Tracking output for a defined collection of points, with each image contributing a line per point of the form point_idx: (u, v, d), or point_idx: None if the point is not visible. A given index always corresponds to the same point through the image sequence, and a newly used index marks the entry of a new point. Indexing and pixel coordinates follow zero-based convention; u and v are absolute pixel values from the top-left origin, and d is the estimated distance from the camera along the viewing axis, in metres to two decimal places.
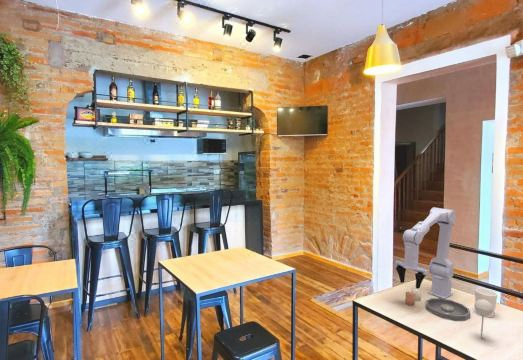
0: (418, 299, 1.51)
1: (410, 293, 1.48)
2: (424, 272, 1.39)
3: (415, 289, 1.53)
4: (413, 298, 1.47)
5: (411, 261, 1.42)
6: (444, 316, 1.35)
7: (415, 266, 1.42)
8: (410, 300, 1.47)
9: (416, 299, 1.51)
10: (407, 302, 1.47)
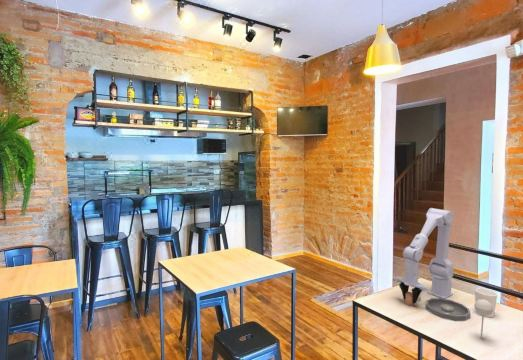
0: (418, 299, 1.51)
1: (410, 293, 1.48)
2: (424, 289, 1.42)
3: None
4: None
5: (411, 278, 1.45)
6: (444, 316, 1.35)
7: (415, 283, 1.45)
8: (410, 300, 1.47)
9: None
10: (407, 302, 1.47)
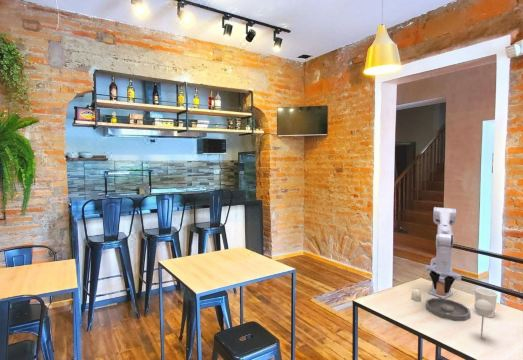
0: (418, 299, 1.51)
1: (441, 282, 1.39)
2: (458, 277, 1.32)
3: (415, 289, 1.53)
4: None
5: (444, 266, 1.35)
6: (444, 316, 1.35)
7: (448, 271, 1.35)
8: (442, 290, 1.37)
9: (416, 299, 1.51)
10: (438, 292, 1.38)
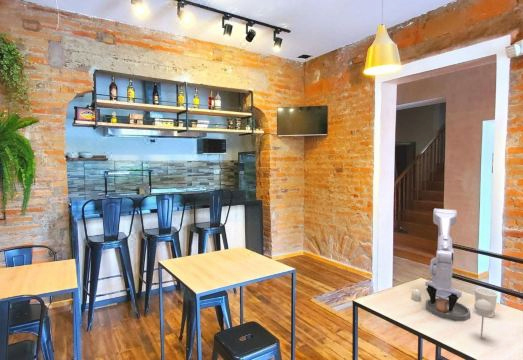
0: (418, 299, 1.51)
1: (442, 301, 1.39)
2: (458, 294, 1.32)
3: (415, 289, 1.53)
4: (445, 307, 1.37)
5: (444, 283, 1.36)
6: (444, 316, 1.35)
7: (448, 287, 1.36)
8: (442, 309, 1.37)
9: (416, 299, 1.51)
10: None
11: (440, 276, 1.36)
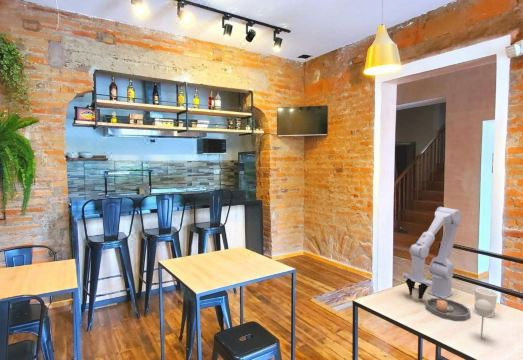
0: (418, 299, 1.51)
1: (442, 301, 1.39)
2: (430, 285, 1.46)
3: (415, 289, 1.53)
4: (445, 307, 1.37)
5: (418, 274, 1.50)
6: (444, 316, 1.35)
7: (421, 279, 1.50)
8: (442, 309, 1.37)
9: (416, 299, 1.51)
10: None
11: (411, 267, 1.52)
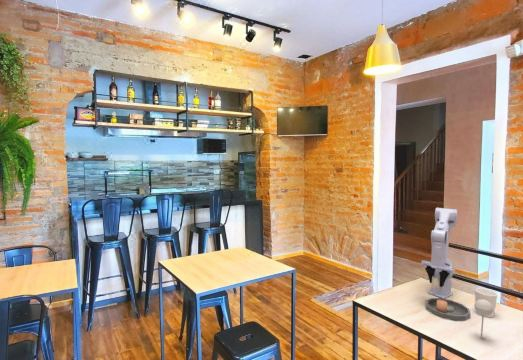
0: (439, 287, 1.44)
1: (442, 301, 1.39)
2: (452, 271, 1.39)
3: (435, 277, 1.46)
4: (445, 307, 1.37)
5: (439, 261, 1.42)
6: (444, 316, 1.35)
7: (442, 265, 1.42)
8: (442, 309, 1.37)
9: (437, 287, 1.44)
10: None
11: (434, 254, 1.43)
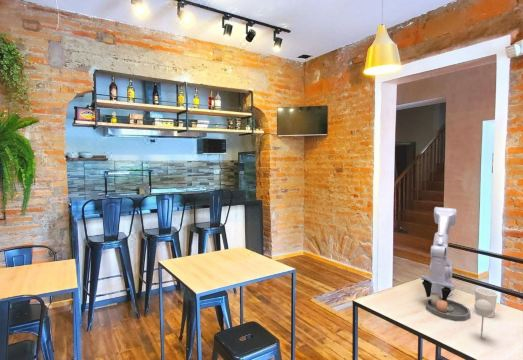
0: None
1: (442, 301, 1.39)
2: (451, 287, 1.39)
3: (435, 294, 1.46)
4: (445, 307, 1.37)
5: (438, 276, 1.43)
6: (444, 316, 1.35)
7: (442, 281, 1.43)
8: (442, 309, 1.37)
9: (436, 305, 1.44)
10: None
11: (434, 270, 1.44)
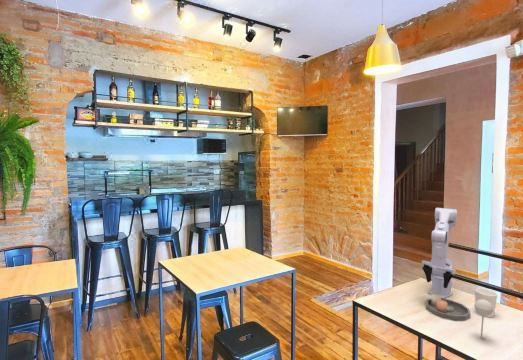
0: None
1: (442, 301, 1.39)
2: (452, 272, 1.39)
3: (435, 294, 1.46)
4: (445, 307, 1.37)
5: (439, 261, 1.42)
6: (444, 316, 1.35)
7: (443, 266, 1.42)
8: (442, 309, 1.37)
9: (436, 305, 1.44)
10: None
11: (434, 254, 1.43)
